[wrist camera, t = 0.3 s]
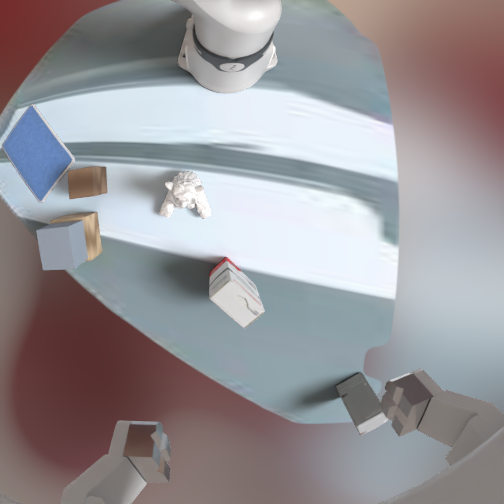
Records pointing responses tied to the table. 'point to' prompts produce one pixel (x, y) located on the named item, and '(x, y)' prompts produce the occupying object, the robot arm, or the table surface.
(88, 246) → the oak block
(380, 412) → the skincare box
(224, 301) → the ink box
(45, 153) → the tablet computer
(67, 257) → the slate block
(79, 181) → the walnut block
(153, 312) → the table surface
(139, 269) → the table surface
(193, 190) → the seated beast figurine
